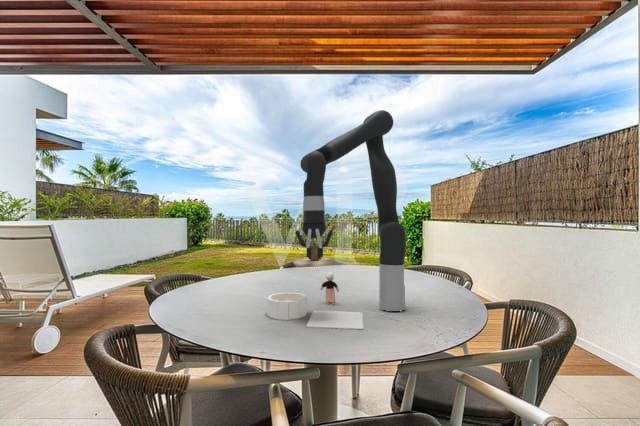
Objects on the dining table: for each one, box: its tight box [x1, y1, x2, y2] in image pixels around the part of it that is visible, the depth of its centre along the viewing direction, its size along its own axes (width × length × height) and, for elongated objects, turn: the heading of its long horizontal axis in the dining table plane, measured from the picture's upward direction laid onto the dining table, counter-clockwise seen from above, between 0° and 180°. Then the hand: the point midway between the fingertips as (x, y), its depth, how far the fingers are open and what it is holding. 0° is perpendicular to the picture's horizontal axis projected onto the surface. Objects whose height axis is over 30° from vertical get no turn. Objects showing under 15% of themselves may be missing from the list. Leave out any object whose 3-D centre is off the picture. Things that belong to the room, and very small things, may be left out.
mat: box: [305, 310, 364, 330], centre depth 116 cm, size 18×18×1 cm
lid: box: [293, 245, 337, 267], centre depth 120 cm, size 15×15×6 cm
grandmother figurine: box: [319, 271, 340, 306], centre depth 138 cm, size 8×4×13 cm, turn 84°
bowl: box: [266, 292, 308, 321], centre depth 123 cm, size 14×14×6 cm
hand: (314, 258), depth 120 cm, fingers closed on lid, 3 cm apart
